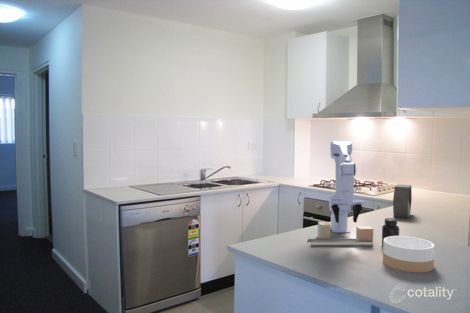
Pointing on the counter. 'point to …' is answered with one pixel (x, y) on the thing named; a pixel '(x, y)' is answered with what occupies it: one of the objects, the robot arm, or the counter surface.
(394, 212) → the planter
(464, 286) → the counter surface
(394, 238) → the bowl
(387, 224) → the supplement bottle
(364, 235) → the faced tea box
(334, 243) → the pair of grey rails
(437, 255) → the counter surface
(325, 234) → the box
